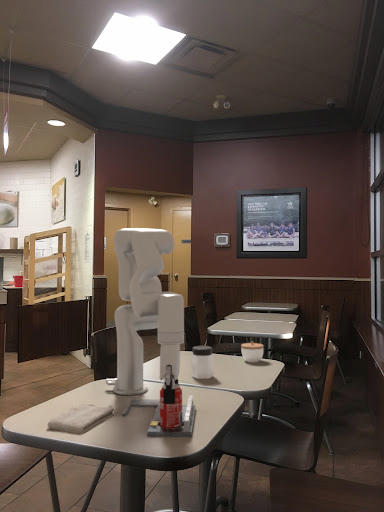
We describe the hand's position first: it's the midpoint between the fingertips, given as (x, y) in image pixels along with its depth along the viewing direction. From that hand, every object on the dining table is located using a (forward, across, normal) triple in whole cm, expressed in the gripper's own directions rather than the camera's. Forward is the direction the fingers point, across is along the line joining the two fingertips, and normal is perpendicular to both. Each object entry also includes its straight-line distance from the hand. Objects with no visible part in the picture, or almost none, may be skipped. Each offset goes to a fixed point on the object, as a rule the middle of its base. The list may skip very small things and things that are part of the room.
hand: (171, 398), depth 124 cm
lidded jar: (+9, -88, +30) cm, 93 cm away
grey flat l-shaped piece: (+8, -17, -10) cm, 21 cm away
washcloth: (+9, -5, -27) cm, 29 cm away
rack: (+8, -6, 0) cm, 10 cm away
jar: (+9, -58, +7) cm, 59 cm away
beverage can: (+9, 0, 0) cm, 9 cm away
